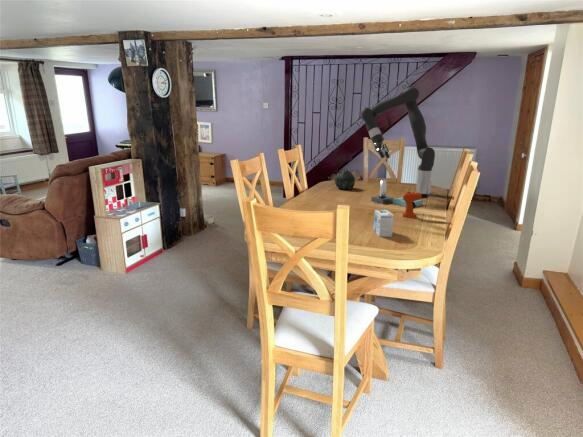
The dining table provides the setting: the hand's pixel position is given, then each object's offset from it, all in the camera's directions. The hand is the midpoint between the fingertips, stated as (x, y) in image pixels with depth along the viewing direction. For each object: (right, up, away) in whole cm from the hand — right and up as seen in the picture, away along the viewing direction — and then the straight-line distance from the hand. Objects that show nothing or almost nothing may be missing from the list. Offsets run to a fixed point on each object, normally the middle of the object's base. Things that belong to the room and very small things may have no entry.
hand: (385, 157), depth 269 cm
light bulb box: (-17, -47, -66) cm, 83 cm away
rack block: (+12, -31, -7) cm, 34 cm away
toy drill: (+9, -39, -37) cm, 55 cm away
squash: (-22, -18, +40) cm, 49 cm away
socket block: (-2, -29, 0) cm, 29 cm away
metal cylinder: (-2, -29, 0) cm, 29 cm away
